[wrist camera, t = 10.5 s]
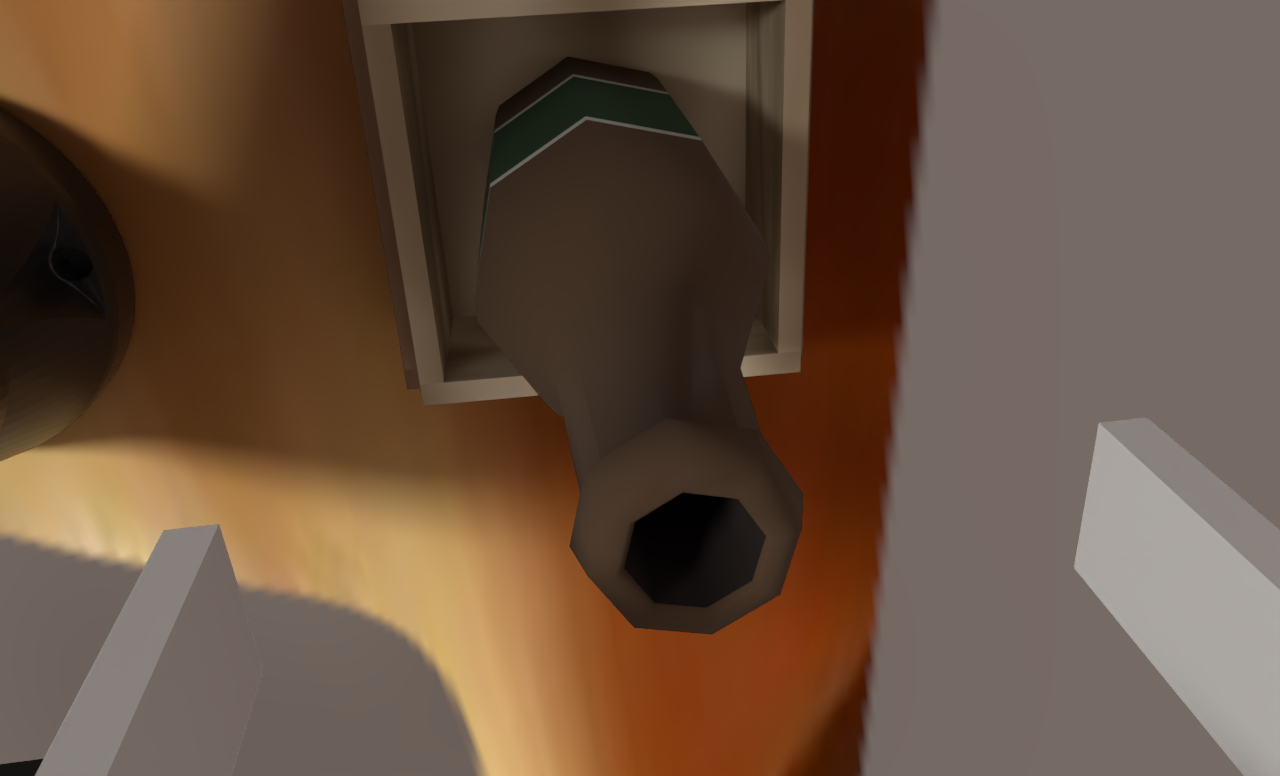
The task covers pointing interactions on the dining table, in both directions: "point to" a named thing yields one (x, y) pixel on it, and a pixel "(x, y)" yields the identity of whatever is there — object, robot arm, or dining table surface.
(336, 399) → the dining table surface
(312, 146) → the dining table surface
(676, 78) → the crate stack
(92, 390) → the robot arm
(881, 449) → the dining table surface
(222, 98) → the dining table surface
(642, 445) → the beer bottle
